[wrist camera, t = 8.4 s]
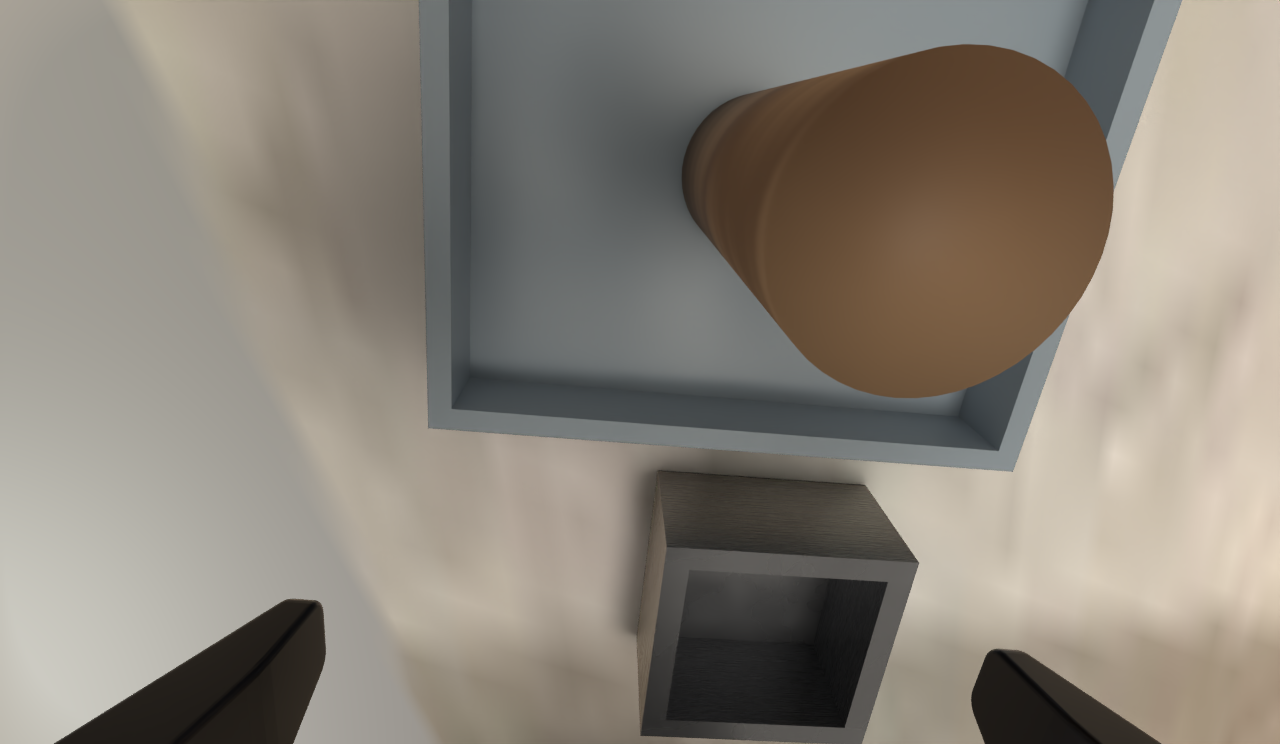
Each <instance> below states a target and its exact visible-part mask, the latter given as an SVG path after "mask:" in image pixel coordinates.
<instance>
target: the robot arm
mask: <svg viewBox="0 0 1280 744" xmlns="http://www.w3.org/2000/svg"><path fill="white" fill-rule="evenodd" d="M325 655H326V645H325V629H324V613H323V607H322V605H321V603H320V602H318V601H316V600H304V599H287V600H284V601H283V602H281V603H279V604H277V605H276V606H274V607H273V608H271V609H269V610H268V611H266V612H264V613H263V614H261V615H260V616H258V617H256V618H255V619H253V620H252V621H250V622H248V623H247V624H245V625H244V626H242V627H240V628H239V629H237V630H236V631H234V632H232V633H231V634H229V635H228V636H226V637H224V638H223V639H221V640H220V641H218V642H216V643H215V644H213V645H211V646H210V647H208V648H207V649H205V650H203V651H202V652H200V653H199V654H197V655H195V656H194V657H192V658H191V659H189V660H188V661H186V662H184V663H183V664H181V665H179V666H178V667H176V668H175V669H173V670H171V671H170V672H168V673H167V674H165V675H164V676H162V677H160V678H159V679H157V680H155V681H154V682H152V683H151V684H149V685H147V686H146V687H144V688H142V689H141V690H139V691H138V692H136V693H134V694H133V695H131V696H130V697H128V698H126V699H125V700H123V701H122V702H120V703H118V704H117V705H115V706H114V707H112V708H110V709H109V710H107V711H106V712H104V713H103V714H101V715H99V716H98V717H96V718H94V719H93V720H91V721H90V722H88V723H86V724H85V725H83V726H81V727H80V728H78V729H77V730H75V731H73V732H72V733H71V734H69V735H67V736H65V737H64V738H62V739H61V740H59V741H57V742H56V743H54V744H293V743H294V740H295V737H296V735H297V733H298V730H299V727H300V725H301V722H302V720H303V717H304V715H305V712H306V710H307V707H308V705H309V702H310V700H311V697H312V695H313V692H314V690H315V687H316V684H317V682H318V680H319V677H320V674H321V672H322V669H323V665H324V662H325ZM971 702H972V709H973V713H974V716H975V719H976V721H977V724H978V726H979V729H980V732H981V734H982V737H983V740H984V742H985V744H1161V743H1160V742H1158V741H1157V740H1155V739H1154V738H1152V737H1151V736H1149V735H1148V734H1146V733H1145V732H1143V731H1142V730H1140V729H1139V728H1137V727H1136V726H1134V725H1133V724H1131V723H1130V722H1128V721H1127V720H1125V719H1124V718H1122V717H1121V716H1119V715H1118V714H1116V713H1115V712H1113V711H1112V710H1110V709H1109V708H1107V707H1106V706H1104V705H1103V704H1101V703H1100V702H1098V701H1097V700H1095V699H1094V698H1092V697H1091V696H1089V695H1088V694H1086V693H1085V692H1083V691H1082V690H1080V689H1079V688H1077V687H1076V686H1074V685H1073V684H1072V683H1070V682H1069V681H1067V680H1066V679H1064V678H1063V677H1061V676H1060V675H1058V674H1057V673H1055V672H1054V671H1052V670H1051V669H1049V668H1048V667H1046V666H1045V665H1043V664H1042V663H1040V662H1039V661H1037V660H1036V659H1034V658H1033V657H1031V656H1030V655H1028V654H1026V653H1025V652H1022V651H1019V650H1008V649H993V650H991V651H990V652H989V653H987V655H986V657H985V660H984V662H983V665H982V667H981V670H980V673H979V675H978V678H977V680H976V683H975V686H974V688H973V691H972V697H971Z"/></svg>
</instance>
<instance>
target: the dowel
mask: <svg viewBox="0 0 1280 744" xmlns="http://www.w3.org/2000/svg"><path fill="white" fill-rule="evenodd" d="M682 190H683V195H684V199H685V202H686V205H687V208H688V210H689V212H690V214H691V216H692V218H693V219H694V221H695V222H696V224H697V225H698V226H699V228H700V229H701V230H702V231H703V233H704V234H705V235H706V236H707V238H708V239H709V240H710V241H711V243H712V244H713V245H714V246H715V248H716V249H717V250H718V251H719V252H720V254H721V255H722V256H723V257H724V259H725V260H726V261H727V262H728V264H729V265H730V266H731V267H732V269H733V270H734V271H735V272H736V274H737V275H738V276H739V277H740V278H741V280H742V281H743V282H744V283H745V285H746V286H747V287H748V288H749V290H750V291H751V292H752V293H753V295H754V296H755V297H756V298H757V300H758V301H759V302H760V303H761V304H762V306H763V307H764V308H765V309H766V311H767V312H768V313H769V314H770V316H771V317H772V318H773V319H774V321H775V322H776V323H777V324H778V326H779V327H780V328H781V329H782V330H783V332H784V333H785V334H786V335H787V337H788V338H789V339H790V340H791V342H792V343H793V344H794V345H795V346H796V348H797V349H798V350H799V351H800V352H801V353H802V354H803V355H804V356H805V358H806V359H807V360H808V361H810V362H811V363H812V364H813V365H814V366H816V367H817V368H818V369H819V370H820V371H822V372H823V373H825V374H826V375H828V376H830V377H831V378H833V379H834V380H836V381H838V382H840V383H842V384H844V385H847V386H849V387H851V388H853V389H856V390H859V391H863V392H866V393H870V394H873V395H878V396H885V397H892V398H923V397H933V396H939V395H944V394H948V393H953V392H957V391H960V390H963V389H966V388H969V387H972V386H975V385H977V384H980V383H982V382H984V381H986V380H988V379H990V378H992V377H995V376H997V375H998V374H1000V373H1002V372H1003V371H1005V370H1007V369H1008V368H1010V367H1012V366H1013V365H1015V364H1017V363H1018V362H1019V361H1021V360H1022V359H1023V358H1025V357H1026V356H1027V355H1029V354H1030V353H1031V352H1033V351H1034V350H1035V349H1036V348H1037V347H1039V346H1040V345H1041V344H1042V343H1043V342H1044V341H1045V340H1046V339H1047V338H1048V337H1049V336H1050V335H1052V333H1053V332H1054V331H1055V330H1056V329H1057V328H1058V327H1059V326H1060V324H1061V323H1062V322H1063V321H1064V320H1065V319H1066V318H1067V316H1068V315H1069V314H1070V312H1071V311H1072V309H1073V308H1074V307H1075V305H1076V304H1077V302H1078V301H1079V300H1080V298H1081V297H1082V295H1083V293H1084V291H1085V290H1086V288H1087V286H1088V284H1089V282H1090V281H1091V279H1092V277H1093V275H1094V273H1095V270H1096V268H1097V266H1098V263H1099V261H1100V259H1101V256H1102V253H1103V250H1104V247H1105V243H1106V240H1107V237H1108V233H1109V228H1110V222H1111V216H1112V211H1113V192H1114V183H1113V172H1112V163H1111V158H1110V154H1109V150H1108V146H1107V141H1106V139H1105V136H1104V134H1103V131H1102V129H1101V126H1100V124H1099V121H1098V119H1097V118H1096V116H1095V114H1094V113H1093V111H1092V109H1091V108H1090V106H1089V105H1088V103H1087V101H1086V100H1085V99H1084V98H1083V96H1082V95H1081V94H1080V93H1079V92H1078V91H1077V89H1076V88H1075V87H1074V86H1073V85H1072V84H1071V83H1070V82H1069V81H1068V80H1066V79H1065V78H1064V77H1063V76H1062V75H1060V74H1059V73H1058V72H1057V71H1056V70H1054V69H1053V68H1051V67H1049V66H1047V65H1046V64H1044V63H1042V62H1041V61H1039V60H1037V59H1035V58H1033V57H1030V56H1028V55H1025V54H1023V53H1020V52H1017V51H1015V50H1011V49H1006V48H1001V47H996V46H991V45H975V44H960V45H951V46H941V47H936V48H932V49H928V50H924V51H920V52H916V53H912V54H908V55H904V56H900V57H896V58H892V59H887V60H883V61H879V62H875V63H871V64H867V65H863V66H859V67H855V68H851V69H847V70H843V71H839V72H835V73H831V74H827V75H823V76H819V77H815V78H811V79H807V80H803V81H798V82H794V83H790V84H786V85H782V86H778V87H774V88H770V89H766V90H762V91H758V92H754V93H750V94H746V95H742V96H739V97H736V98H734V99H731V100H729V101H727V102H726V103H724V104H722V105H720V106H719V107H718V108H716V109H715V110H714V111H712V112H711V113H710V114H709V115H708V116H707V117H706V118H705V119H704V120H703V121H702V123H701V124H700V125H699V126H698V128H697V129H696V131H695V133H694V134H693V136H692V138H691V140H690V142H689V144H688V146H687V149H686V153H685V156H684V160H683V166H682Z"/></svg>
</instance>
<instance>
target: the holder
mask: <svg viewBox="0 0 1280 744" xmlns="http://www.w3.org/2000/svg"><path fill="white" fill-rule="evenodd" d="M918 565H919V562H918V561H917V559H916V558H915V556H914V555H913V553H912V552H911V551H910V549H909V548H908V546H907V545H906V543H905V542H904V540H903V539H902V538H901V536H900V535H899V533H898V532H897V530H896V529H895V527H894V526H893V525H892V523H891V522H890V520H889V519H888V517H887V516H886V514H885V513H884V511H883V510H882V509H881V507H880V506H879V504H878V503H877V501H876V500H875V498H874V497H873V496H872V494H871V493H870V491H869V490H868V488H867V487H866V486H863V485H849V484H835V483H821V482H807V481H793V480H779V479H765V478H751V477H737V476H723V475H709V474H696V473H682V472H668V471H658V473H657V481H656V489H655V497H654V505H653V513H652V521H651V528H650V536H649V544H648V552H647V560H646V568H645V576H644V584H643V591H642V599H641V607H640V615H639V623H638V631H637V659H638V686H639V712H640V736H662V737H686V738H709V739H732V740H756V741H779V742H802V743H826V744H862V741H863V738H864V735H865V732H866V729H867V726H868V723H869V719H870V716H871V713H872V710H873V707H874V704H875V700H876V697H877V694H878V691H879V688H880V685H881V681H882V678H883V675H884V672H885V669H886V666H887V662H888V659H889V656H890V653H891V650H892V647H893V644H894V640H895V637H896V634H897V631H898V628H899V625H900V621H901V618H902V615H903V612H904V609H905V606H906V602H907V599H908V596H909V593H910V590H911V587H912V583H913V580H914V577H915V574H916V571H917V568H918Z"/></svg>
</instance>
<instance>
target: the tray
mask: <svg viewBox="0 0 1280 744" xmlns="http://www.w3.org/2000/svg"><path fill="white" fill-rule="evenodd" d="M1181 2H1182V0H419V25H420V71H421V116H422V162H423V207H424V253H425V298H426V344H427V389H428V428H433V429H446V430H460V431H473V432H487V433H500V434H513V435H527V436H540V437H554V438H567V439H581V440H594V441H608V442H621V443H634V444H648V445H661V446H675V447H688V448H702V449H715V450H729V451H742V452H755V453H769V454H782V455H796V456H809V457H823V458H836V459H850V460H863V461H876V462H890V463H903V464H917V465H930V466H944V467H957V468H970V469H984V470H997V471H1011V472H1013V470H1014V467H1015V464H1016V462H1017V459H1018V456H1019V453H1020V450H1021V448H1022V445H1023V442H1024V439H1025V437H1026V434H1027V431H1028V428H1029V425H1030V423H1031V420H1032V417H1033V414H1034V411H1035V409H1036V406H1037V403H1038V400H1039V398H1040V395H1041V392H1042V389H1043V386H1044V384H1045V381H1046V378H1047V375H1048V372H1049V370H1050V367H1051V364H1052V361H1053V359H1054V356H1055V353H1056V350H1057V347H1058V345H1059V342H1060V339H1061V336H1062V333H1063V331H1064V328H1065V325H1066V322H1067V320H1068V317H1069V315H1068V316H1067V318H1066V319H1065V320H1064V321H1063V322H1062V323H1061V324H1060V326H1059V327H1058V328H1057V329H1056V330H1055V331H1054V332H1053V333H1052V335H1050V336H1049V337H1048V338H1047V339H1046V340H1045V341H1044V342H1043V343H1042V344H1041V345H1040V346H1039V347H1037V348H1036V349H1035V350H1034V351H1033V352H1031V353H1030V354H1029V355H1027V356H1026V357H1025V358H1023V359H1022V360H1021V361H1019V362H1018V363H1017V364H1015V365H1013V366H1012V367H1010V368H1008V369H1007V370H1005V371H1003V372H1002V373H1000V374H998V375H997V376H995V377H992V378H990V379H988V380H986V381H984V382H982V383H980V384H977V385H975V386H972V387H969V388H966V389H963V390H960V391H957V392H953V393H948V394H944V395H939V396H933V397H923V398H892V397H885V396H878V395H873V394H870V393H866V392H863V391H859V390H856V389H853V388H851V387H849V386H847V385H844V384H842V383H840V382H838V381H836V380H834V379H833V378H831V377H830V376H828V375H826V374H825V373H823V372H822V371H820V370H819V369H818V368H817V367H816V366H814V365H813V364H812V363H811V362H810V361H808V360H807V359H806V358H805V356H804V355H803V354H802V353H801V352H800V351H799V350H798V349H797V348H796V346H795V345H794V344H793V343H792V342H791V340H790V339H789V338H788V337H787V335H786V334H785V333H784V332H783V330H782V329H781V328H780V327H779V326H778V324H777V323H776V322H775V321H774V319H773V318H772V317H771V316H770V314H769V313H768V312H767V311H766V309H765V308H764V307H763V306H762V304H761V303H760V302H759V301H758V300H757V298H756V297H755V296H754V295H753V293H752V292H751V291H750V290H749V288H748V287H747V286H746V285H745V283H744V282H743V281H742V280H741V278H740V277H739V276H738V275H737V274H736V272H735V271H734V270H733V269H732V267H731V266H730V265H729V264H728V262H727V261H726V260H725V259H724V257H723V256H722V255H721V254H720V252H719V251H718V250H717V249H716V248H715V246H714V245H713V244H712V243H711V241H710V240H709V239H708V238H707V236H706V235H705V234H704V233H703V231H702V230H701V229H700V228H699V226H698V225H697V224H696V222H695V221H694V219H693V218H692V216H691V214H690V212H689V210H688V208H687V205H686V202H685V199H684V195H683V190H682V166H683V160H684V156H685V153H686V149H687V146H688V144H689V142H690V140H691V138H692V136H693V134H694V133H695V131H696V129H697V128H698V126H699V125H700V124H701V123H702V121H703V120H704V119H705V118H706V117H707V116H708V115H709V114H710V113H711V112H712V111H714V110H715V109H716V108H718V107H719V106H720V105H722V104H724V103H726V102H727V101H729V100H731V99H734V98H736V97H739V96H742V95H746V94H750V93H754V92H758V91H762V90H766V89H770V88H774V87H778V86H782V85H786V84H790V83H794V82H798V81H803V80H807V79H811V78H815V77H819V76H823V75H827V74H831V73H835V72H839V71H843V70H847V69H851V68H855V67H859V66H863V65H867V64H871V63H875V62H879V61H883V60H887V59H892V58H896V57H900V56H904V55H908V54H912V53H916V52H920V51H924V50H928V49H932V48H936V47H941V46H951V45H960V44H975V45H991V46H996V47H1001V48H1006V49H1011V50H1015V51H1017V52H1020V53H1023V54H1025V55H1028V56H1030V57H1033V58H1035V59H1037V60H1039V61H1041V62H1042V63H1044V64H1046V65H1047V66H1049V67H1051V68H1053V69H1054V70H1056V71H1057V72H1058V73H1059V74H1060V75H1062V76H1063V77H1064V78H1065V79H1066V80H1068V81H1069V82H1070V83H1071V84H1072V85H1073V86H1074V87H1075V88H1076V89H1077V91H1078V92H1079V93H1080V94H1081V95H1082V96H1083V98H1084V99H1085V100H1086V101H1087V103H1088V105H1089V106H1090V108H1091V109H1092V111H1093V113H1094V114H1095V116H1096V118H1097V119H1098V121H1099V124H1100V126H1101V129H1102V131H1103V134H1104V136H1105V139H1106V141H1107V146H1108V150H1109V154H1110V158H1111V163H1112V172H1113V183H1114V189H1115V186H1116V183H1117V180H1118V177H1119V175H1120V172H1121V169H1122V166H1123V164H1124V161H1125V158H1126V155H1127V152H1128V150H1129V147H1130V144H1131V141H1132V138H1133V136H1134V133H1135V130H1136V127H1137V125H1138V122H1139V119H1140V116H1141V113H1142V111H1143V108H1144V105H1145V102H1146V99H1147V97H1148V94H1149V91H1150V88H1151V86H1152V83H1153V80H1154V77H1155V74H1156V72H1157V69H1158V66H1159V63H1160V60H1161V58H1162V55H1163V52H1164V49H1165V47H1166V44H1167V41H1168V38H1169V35H1170V33H1171V30H1172V27H1173V24H1174V21H1175V19H1176V16H1177V13H1178V10H1179V8H1180V5H1181Z"/></svg>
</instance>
